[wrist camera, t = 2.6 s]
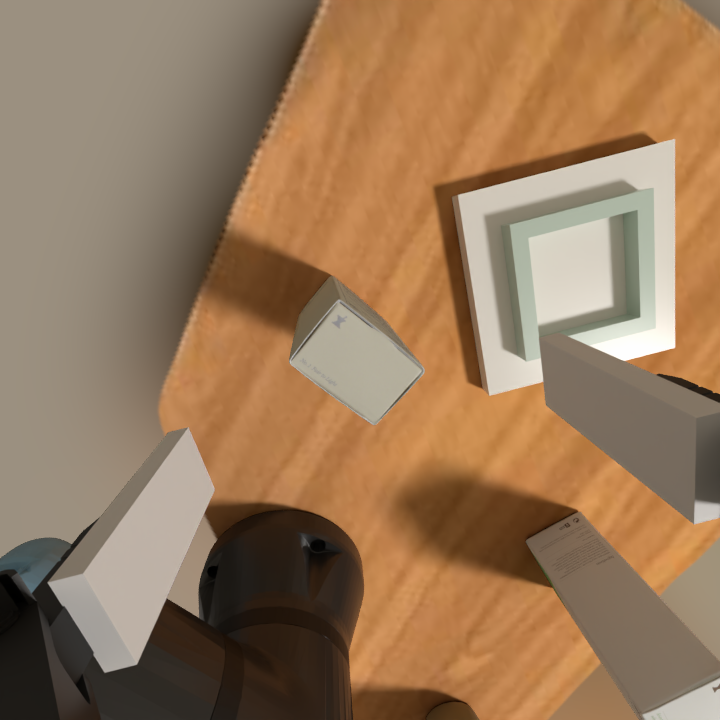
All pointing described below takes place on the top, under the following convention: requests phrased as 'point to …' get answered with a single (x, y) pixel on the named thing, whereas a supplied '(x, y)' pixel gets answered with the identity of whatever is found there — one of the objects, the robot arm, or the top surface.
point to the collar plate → (571, 262)
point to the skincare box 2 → (628, 625)
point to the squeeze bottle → (452, 712)
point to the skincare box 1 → (352, 352)
